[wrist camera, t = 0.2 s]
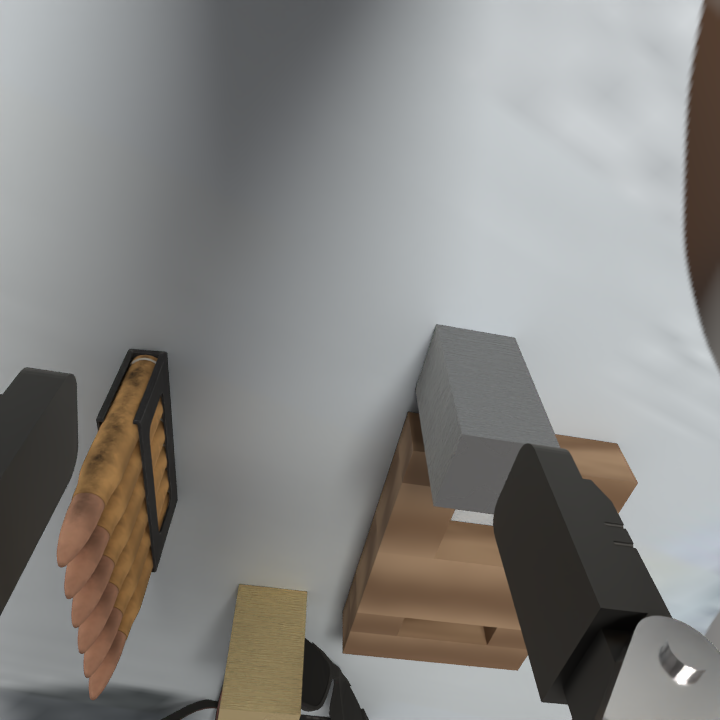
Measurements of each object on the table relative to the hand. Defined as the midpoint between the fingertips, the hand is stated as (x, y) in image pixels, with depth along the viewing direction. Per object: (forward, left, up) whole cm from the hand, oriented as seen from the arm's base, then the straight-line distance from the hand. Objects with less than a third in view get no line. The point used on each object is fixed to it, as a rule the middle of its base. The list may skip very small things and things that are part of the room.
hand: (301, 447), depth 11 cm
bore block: (+21, +13, -18) cm, 30 cm away
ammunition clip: (+16, -6, -18) cm, 25 cm away
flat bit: (+29, +2, -18) cm, 34 cm away
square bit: (+9, +9, -18) cm, 21 cm away
